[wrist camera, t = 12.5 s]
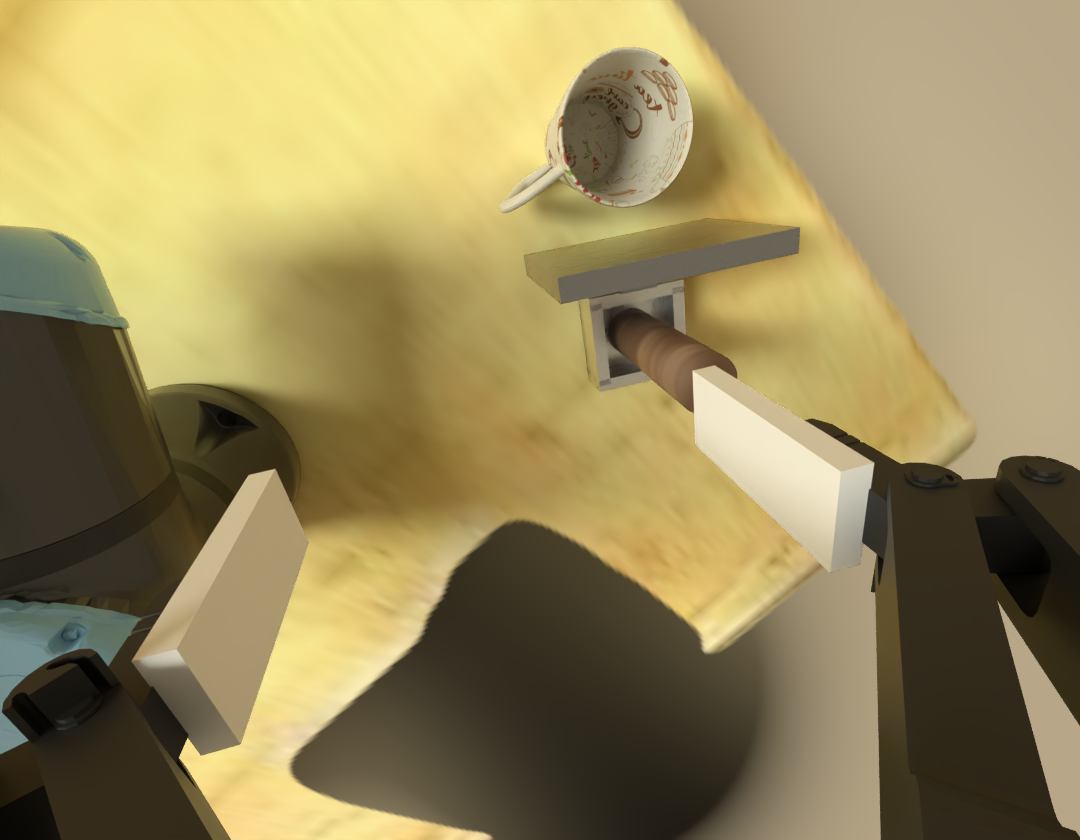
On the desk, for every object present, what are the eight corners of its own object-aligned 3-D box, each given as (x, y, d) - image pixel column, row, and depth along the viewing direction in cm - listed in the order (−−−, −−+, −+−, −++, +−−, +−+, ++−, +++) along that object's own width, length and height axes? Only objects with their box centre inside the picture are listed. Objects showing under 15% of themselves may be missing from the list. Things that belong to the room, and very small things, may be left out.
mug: (652, 160, 41) (716, 152, 32) (525, 258, 42) (552, 276, 33) (599, 54, 37) (653, 10, 28) (461, 164, 38) (471, 156, 29)
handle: (610, 357, 46) (679, 420, 33) (606, 313, 44) (676, 362, 31) (653, 347, 46) (737, 405, 34) (650, 303, 44) (737, 347, 32)
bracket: (546, 388, 47) (582, 447, 36) (523, 255, 42) (557, 278, 31) (710, 350, 49) (791, 395, 38) (707, 218, 43) (799, 227, 33)
